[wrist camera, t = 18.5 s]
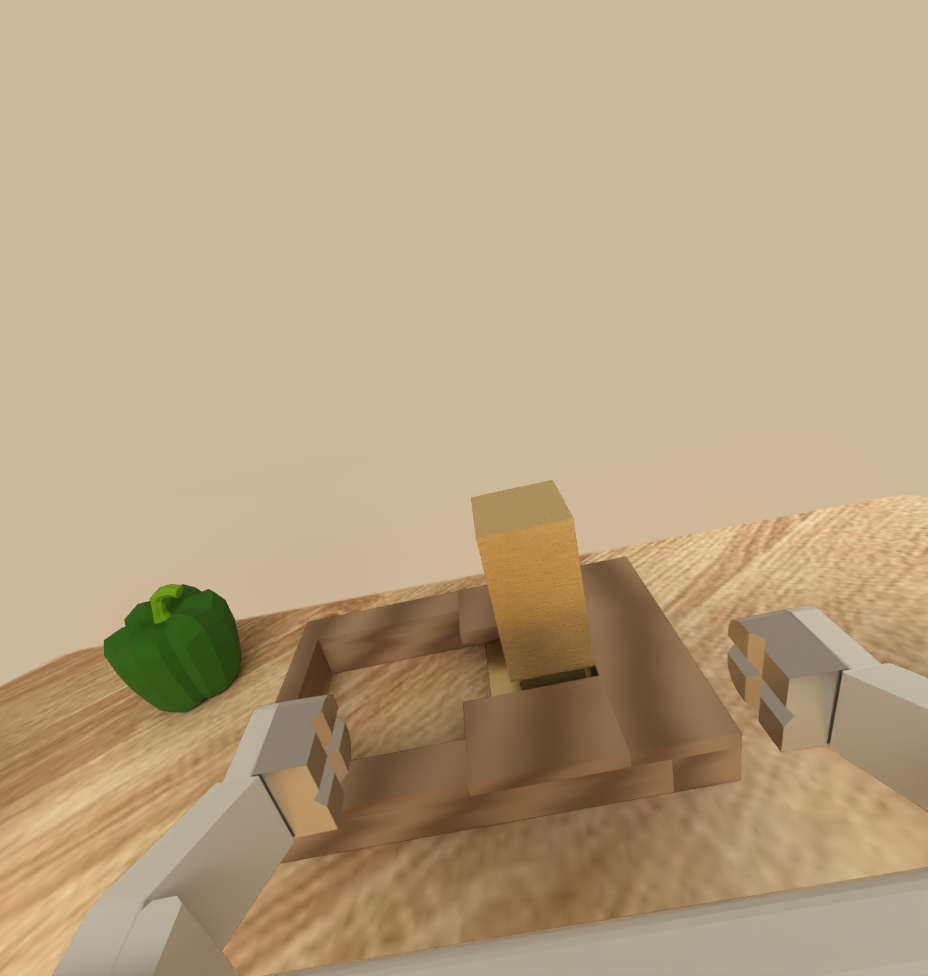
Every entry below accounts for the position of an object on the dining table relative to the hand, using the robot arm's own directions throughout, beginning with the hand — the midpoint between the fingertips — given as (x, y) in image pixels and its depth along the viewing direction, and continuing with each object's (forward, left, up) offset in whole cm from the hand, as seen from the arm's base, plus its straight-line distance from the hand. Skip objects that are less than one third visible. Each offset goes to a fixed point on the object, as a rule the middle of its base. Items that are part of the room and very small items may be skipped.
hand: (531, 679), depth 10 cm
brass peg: (+1, +17, -18) cm, 25 cm away
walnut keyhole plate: (-4, +17, -18) cm, 25 cm away
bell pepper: (-27, +24, -19) cm, 40 cm away
